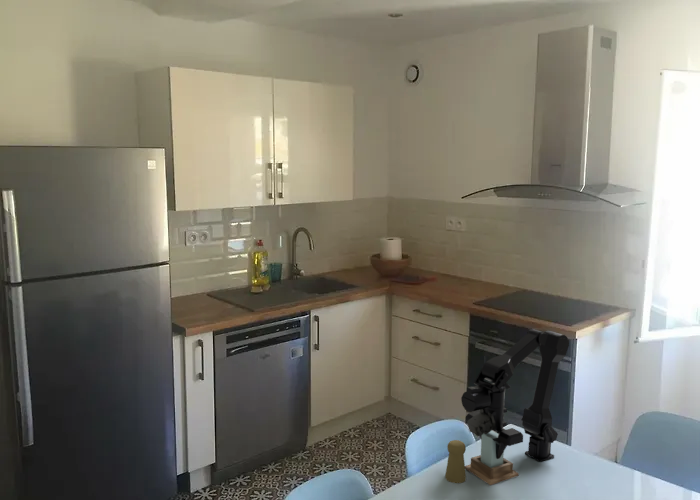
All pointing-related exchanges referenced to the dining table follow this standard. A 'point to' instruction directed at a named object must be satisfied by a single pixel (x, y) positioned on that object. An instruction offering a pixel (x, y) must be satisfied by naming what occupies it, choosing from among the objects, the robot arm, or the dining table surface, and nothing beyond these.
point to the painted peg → (490, 450)
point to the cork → (456, 462)
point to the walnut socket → (491, 470)
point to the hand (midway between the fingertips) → (492, 455)
